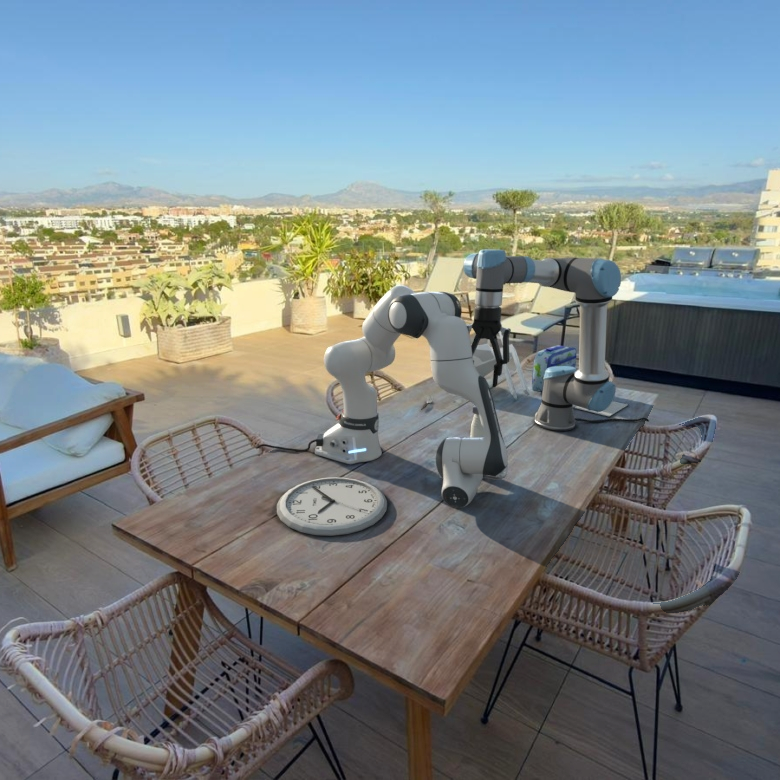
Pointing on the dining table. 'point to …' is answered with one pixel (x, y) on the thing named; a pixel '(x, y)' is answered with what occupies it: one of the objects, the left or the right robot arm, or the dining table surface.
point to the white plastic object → (486, 362)
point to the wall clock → (331, 506)
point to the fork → (428, 402)
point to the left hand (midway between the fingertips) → (477, 454)
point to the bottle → (476, 427)
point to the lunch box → (551, 363)
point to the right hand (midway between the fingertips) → (482, 384)
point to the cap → (475, 410)
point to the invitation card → (607, 409)
